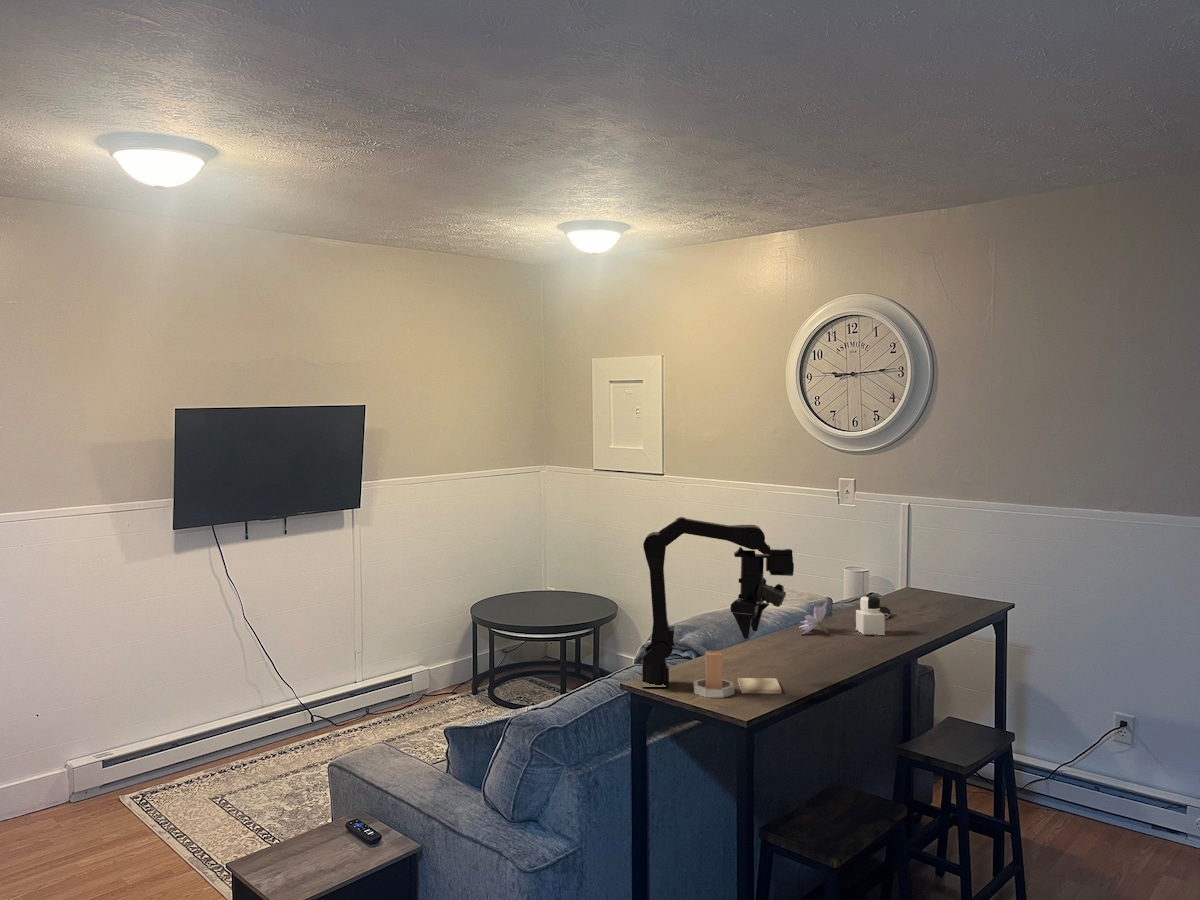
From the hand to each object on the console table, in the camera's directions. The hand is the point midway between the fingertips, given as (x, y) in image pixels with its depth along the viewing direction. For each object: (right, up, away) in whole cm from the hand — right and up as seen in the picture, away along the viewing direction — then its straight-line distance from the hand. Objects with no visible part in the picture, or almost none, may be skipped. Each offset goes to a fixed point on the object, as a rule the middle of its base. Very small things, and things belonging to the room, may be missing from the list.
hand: (750, 634), depth 228 cm
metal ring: (-10, -14, -3) cm, 17 cm away
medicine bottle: (+49, -12, +59) cm, 77 cm away
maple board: (+2, -14, 0) cm, 14 cm away
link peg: (-10, -14, -3) cm, 17 cm away
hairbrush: (+55, -12, +78) cm, 96 cm away
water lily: (+31, -12, +61) cm, 69 cm away
